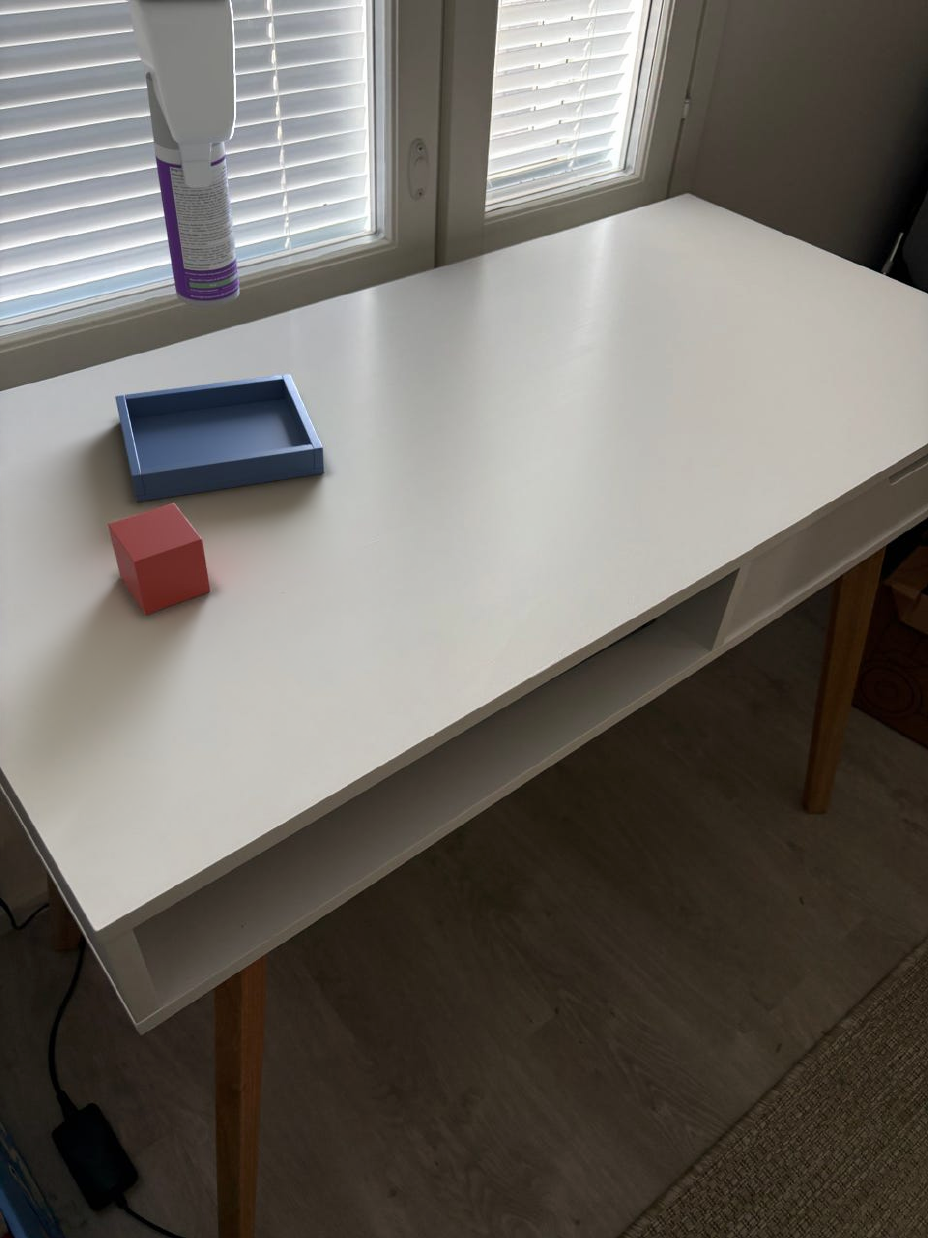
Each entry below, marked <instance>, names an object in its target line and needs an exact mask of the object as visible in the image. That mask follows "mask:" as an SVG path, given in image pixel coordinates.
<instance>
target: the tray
mask: <svg viewBox="0 0 928 1238" xmlns="http://www.w3.org/2000/svg"><path fill="white" fill-rule="evenodd" d="M114 400H115V405H116V408H117V412H118V418H119V423H120V427H121V433H122V437H123V443H124V447H125V453H126V456H127V461H128V466H129V472H130V476H131V480H132V487H133V490H134V491H133V492H134V495H135V496H134V497H135V500H136V502H137V503H140V502H141V503H142V502H147V501H153V500H159V499H166V498H173V497H179V496H186V495H192V494H198V493H204V492H211V491H217V490H223V489H224V490H225V489H230V488H237V487H244V486H249V485H255V484H261V483H268V482H269V483H270V482H274V481H281V480H288V479H293V478H295V479H296V478H299V477H306V476H313V475H318V474H324V473H325V464H324V463H325V462H324V448H323V446H322V442H321V440H320V438H319V436H318V433H317V431H316V430H315V427H314V425H313V423H312V421H311V418H310V416H309V414H308V411H307V409H306V407H305V405H304V402H303V400H302V398H301V396H300V394H299V391H298V389H297V387H296V385H295V382H294V381H293V378H292V375H291V374H290V373H287V374H278V375H277V374H276V375H270V376H262V377H255V378H253V377H252V378H245V379H237V380H231V381H230V380H229V381H222V382H215V383H206V384H198V385H191V386H183V387H175V388H167V389H158V390H151V391H144V392H136V393H127V394H122V395H116V396H115V398H114Z"/></svg>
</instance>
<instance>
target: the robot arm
mask: <svg viewBox="0 0 928 1238" xmlns="http://www.w3.org/2000/svg"><path fill="white" fill-rule="evenodd" d="M125 1H127V2H128V3H129V10H130V17H131V18H130V19H131V24H132V31H133V36H134V42H135V47H136V50H137V54H138V56H139V58H140V61H141V63H142V66H143V68H144V70H145V73H146V74H147V73H148V72H149V74H150V76H151V78H152V81H153V87H154V91H155V94H156V97H157V100H158V102H159V105H160V107H161V109H162V112H163V114H164V117H165V119H166V122H167V124H168V126H169V129H170V131H171V134H172V137H173V139H174V140H175V141H176V142H177V143H178V145H179V150H180V162H181V168H182V175H183V178H184V181H185V183H186V185H187V186H188V187H190V188H206V187H209V186H210V185H211V184H212V172H211V163H210V158H211V143H217V142H224V143H226V142H229V141H230V140H231V139H232V138H233V134H234V129H235V121H236V70H235V36H234V35H235V34H234V33H235V32H234V17H233V16H234V15H233V7H232V6H233V5H232V1H231V0H125Z"/></svg>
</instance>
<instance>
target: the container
mask: <svg viewBox="0 0 928 1238" xmlns="http://www.w3.org/2000/svg"><path fill="white" fill-rule="evenodd" d="M145 81H146V89H147V91H146V92H147V98H148V108H149V116H150V123H151V130H152V138H153V139H152V140H153V147H154V148H153V149H154V155H155V162H156V163H155V164H156V170H157V175H158V182H159V189H160V195H161V202H162V210H163V217H164V223H165V229H166V234H167V242H168V249H169V256H170V262H171V269H172V275H173V281H174V289H175V293H176V298H177V299H178V300H179V301H180V302H181V303H183V304H186V305H189V306H192V307H197V308H213V307H220V306H224V305H227V304H230V303H232V302H234V301H235V300H236V299H237V298H238V297H239V295H240V283H239V282H240V281H239V271H238V263H237V262H238V261H237V252H236V243H235V242H236V241H235V234H234V224H233V223H234V222H233V214H232V213H233V212H232V204H231V203H232V202H231V194H230V185H229V174H228V164H227V156H226V148H225V142H217V143H211V158H210V163H211V172H212V184H211V185H210V186H209V187H206V188H190V187H188V186H187V185H186V183H185V181H184V178H183V175H182V168H181V162H180V150H179V145H178V143H177V142H176V141H175V140H174V139H173V137H172V134H171V131H170V129H169V126H168V124H167V122H166V119H165V117H164V114H163V112H162V109H161V107H160V105H159V102H158V100H157V97H156V94H155V91H154V87H153V81H152V78H151V76H150V74H149V72H148V73H146V74H145Z"/></svg>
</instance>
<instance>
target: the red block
mask: <svg viewBox="0 0 928 1238" xmlns="http://www.w3.org/2000/svg"><path fill="white" fill-rule="evenodd" d="M107 527H108V531H109V536H110V540H111V544H112V549H113V553H114V557H115V562H116V565H117V569H118V574H119V577H120V579H121V580H122V582H123V583H124V585H125V586H126V588H127V589H128V591H129V592H130V594H131V595H132V598H133V599H134V600H135V601H136V603H137V604H138V606H139V607H140V609H141V611H142V612H143V613H144V615H145V616H147V615H151V614H153V613H156V612H158V611H161V610H164V609H167V608H169V607H172V606H174V605H177V604H180V603H183V602H185V601H188V600H190V599H193V598H197V597H199V596H202V595H204V594H207V593H210V592H211V587H210V581H209V574H208V567H207V561H206V556H205V549H204V543H203V542H204V541H203V539H202V537H201V536H200V534H199V533H198V532H197V530H196V529H195V528H194V527H193V525H192V524H191V522H190V521H189V520H188V519H187V518H186V516H185V515H184V514H183V513H182V511H181V510H180V509H179V508H178V506H177V505H176V504H175V502H172V503H169V504H165V505H161V506H158V507H156V508H152V509H150V510H146V511H143V512H140V513H137V514H134V515H131V516H128V517H124V518H122V519H119V520H116V521H113V522H109V523H107Z"/></svg>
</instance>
